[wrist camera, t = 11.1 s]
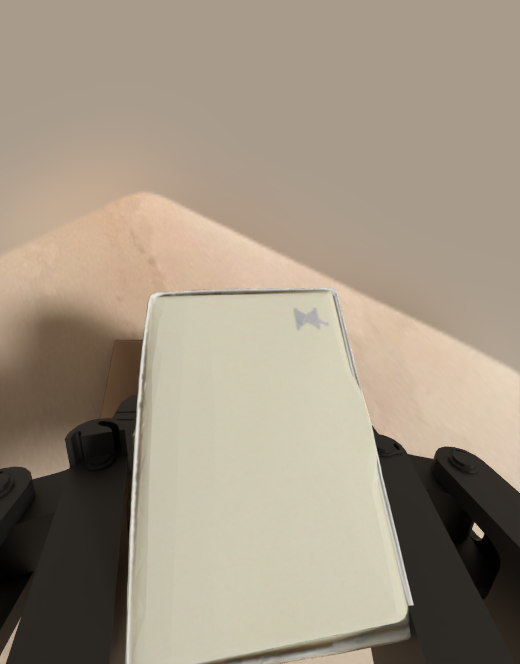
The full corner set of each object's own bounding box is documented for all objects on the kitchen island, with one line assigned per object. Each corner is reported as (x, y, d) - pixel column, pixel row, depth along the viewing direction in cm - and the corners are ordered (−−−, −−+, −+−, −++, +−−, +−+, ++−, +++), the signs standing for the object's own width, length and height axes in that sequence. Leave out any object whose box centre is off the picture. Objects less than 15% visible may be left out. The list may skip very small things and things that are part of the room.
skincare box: (194, 403, 17) (143, 275, 6) (267, 398, 18) (337, 272, 7) (194, 535, 14) (103, 715, 3) (281, 523, 15) (435, 645, 4)
